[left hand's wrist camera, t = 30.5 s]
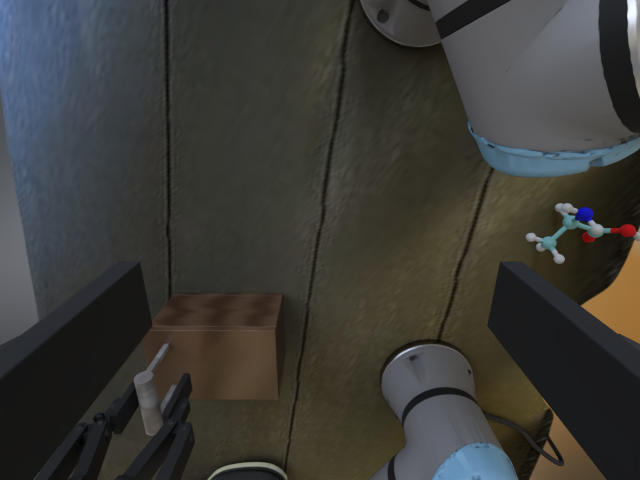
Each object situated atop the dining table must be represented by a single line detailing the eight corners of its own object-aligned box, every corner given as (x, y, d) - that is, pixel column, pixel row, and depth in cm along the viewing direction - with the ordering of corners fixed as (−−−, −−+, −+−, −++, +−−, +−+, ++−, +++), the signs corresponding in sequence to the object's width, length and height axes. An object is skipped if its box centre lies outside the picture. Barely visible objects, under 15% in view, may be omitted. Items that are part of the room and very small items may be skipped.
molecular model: (548, 290, 49) (602, 281, 40) (505, 235, 51) (547, 214, 42) (609, 248, 51) (675, 229, 41) (564, 197, 53) (618, 167, 43)
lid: (157, 394, 50) (127, 446, 42) (143, 326, 45) (107, 370, 38) (279, 395, 50) (271, 447, 42) (276, 326, 45) (266, 370, 38)
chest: (184, 353, 58) (161, 394, 50) (174, 292, 54) (148, 326, 45) (285, 353, 58) (279, 394, 50) (282, 293, 54) (276, 326, 46)
